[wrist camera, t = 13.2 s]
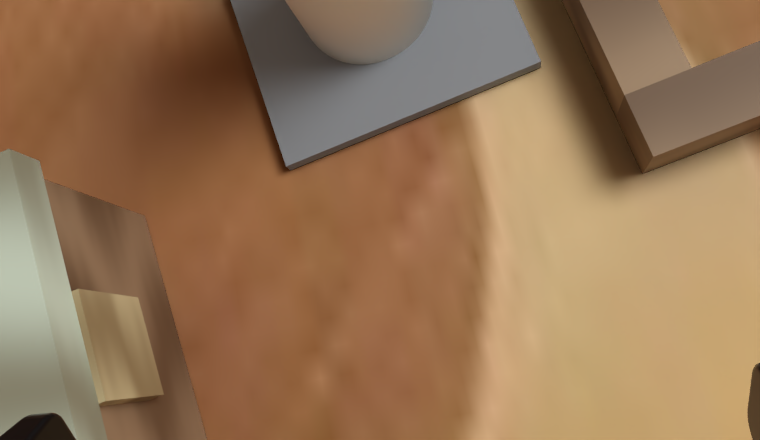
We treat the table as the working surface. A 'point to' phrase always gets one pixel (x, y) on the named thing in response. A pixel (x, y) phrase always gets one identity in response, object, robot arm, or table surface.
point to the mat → (377, 72)
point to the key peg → (362, 26)
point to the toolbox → (85, 316)
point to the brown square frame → (665, 81)
